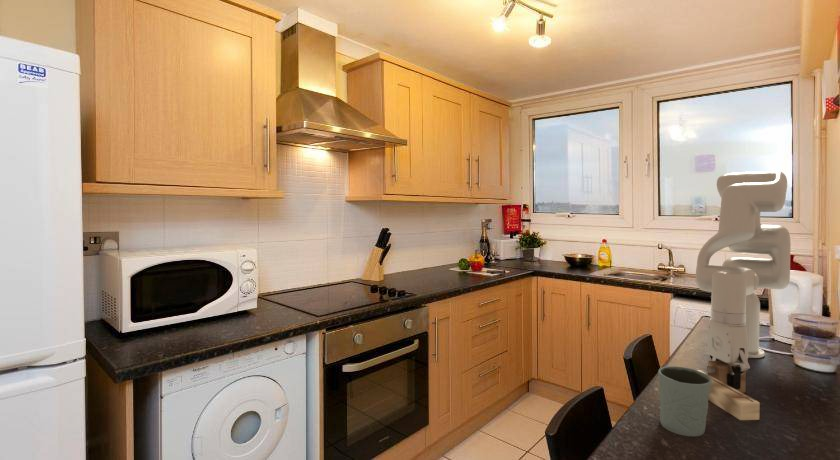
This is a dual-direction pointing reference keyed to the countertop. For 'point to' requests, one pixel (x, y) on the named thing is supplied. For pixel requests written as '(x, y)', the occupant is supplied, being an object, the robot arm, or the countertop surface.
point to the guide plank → (733, 400)
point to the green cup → (683, 400)
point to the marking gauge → (724, 373)
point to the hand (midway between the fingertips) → (726, 384)
